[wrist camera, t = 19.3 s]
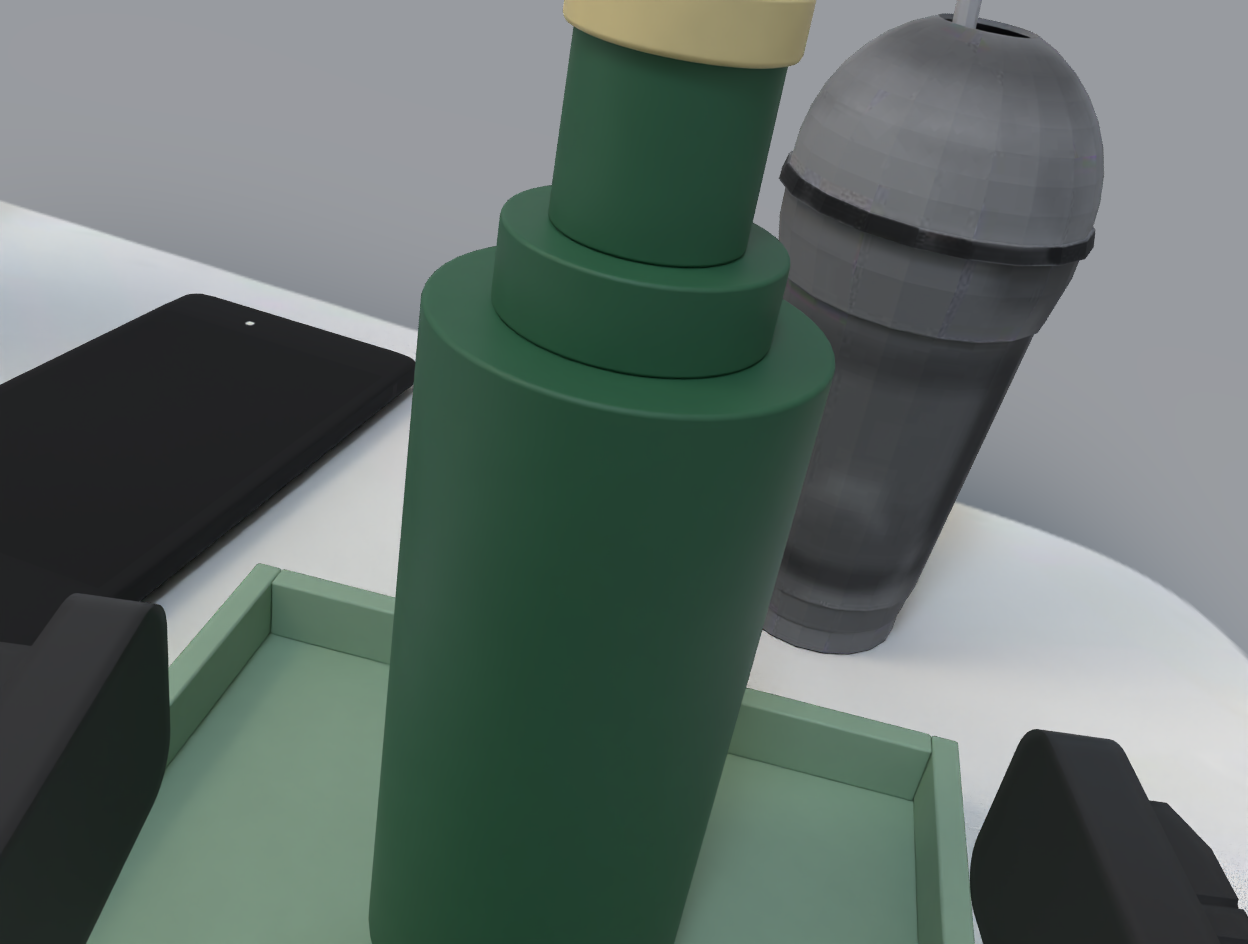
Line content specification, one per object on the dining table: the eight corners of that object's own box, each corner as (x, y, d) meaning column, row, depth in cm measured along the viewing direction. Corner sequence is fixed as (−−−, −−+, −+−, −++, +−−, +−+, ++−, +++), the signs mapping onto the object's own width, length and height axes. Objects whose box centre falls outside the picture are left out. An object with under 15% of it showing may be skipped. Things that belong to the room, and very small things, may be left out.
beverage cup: (802, 721, 29) (1106, -230, 19) (633, 557, 33) (803, -267, 24) (996, 647, 33) (1331, -168, 23) (820, 510, 37) (1032, -210, 28)
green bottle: (316, 1000, 20) (376, -85, 11) (429, 770, 25) (528, -108, 16) (643, 1096, 19) (950, 33, 11) (693, 842, 24) (932, -28, 16)
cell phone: (-302, 568, 27) (-312, 533, 26) (194, 313, 42) (193, 288, 41) (29, 699, 25) (25, 664, 24) (420, 383, 40) (422, 358, 40)
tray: (-118, 1106, 18) (-140, 1022, 17) (257, 630, 28) (257, 561, 27) (964, 1437, 16) (1012, 1367, 15) (931, 806, 27) (959, 740, 26)
